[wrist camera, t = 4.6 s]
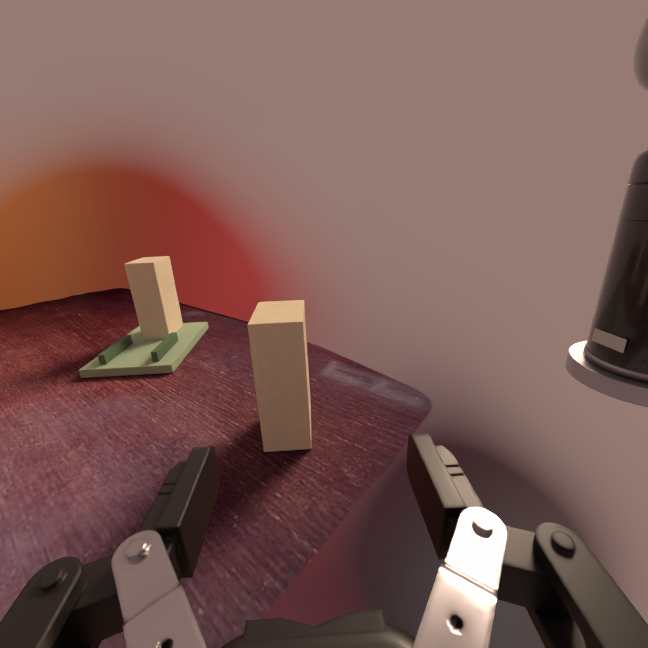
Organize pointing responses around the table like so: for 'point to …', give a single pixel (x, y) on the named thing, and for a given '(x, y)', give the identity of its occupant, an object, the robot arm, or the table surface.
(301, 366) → the tall beige wooden block
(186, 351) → the dock
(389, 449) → the table surface
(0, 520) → the table surface
